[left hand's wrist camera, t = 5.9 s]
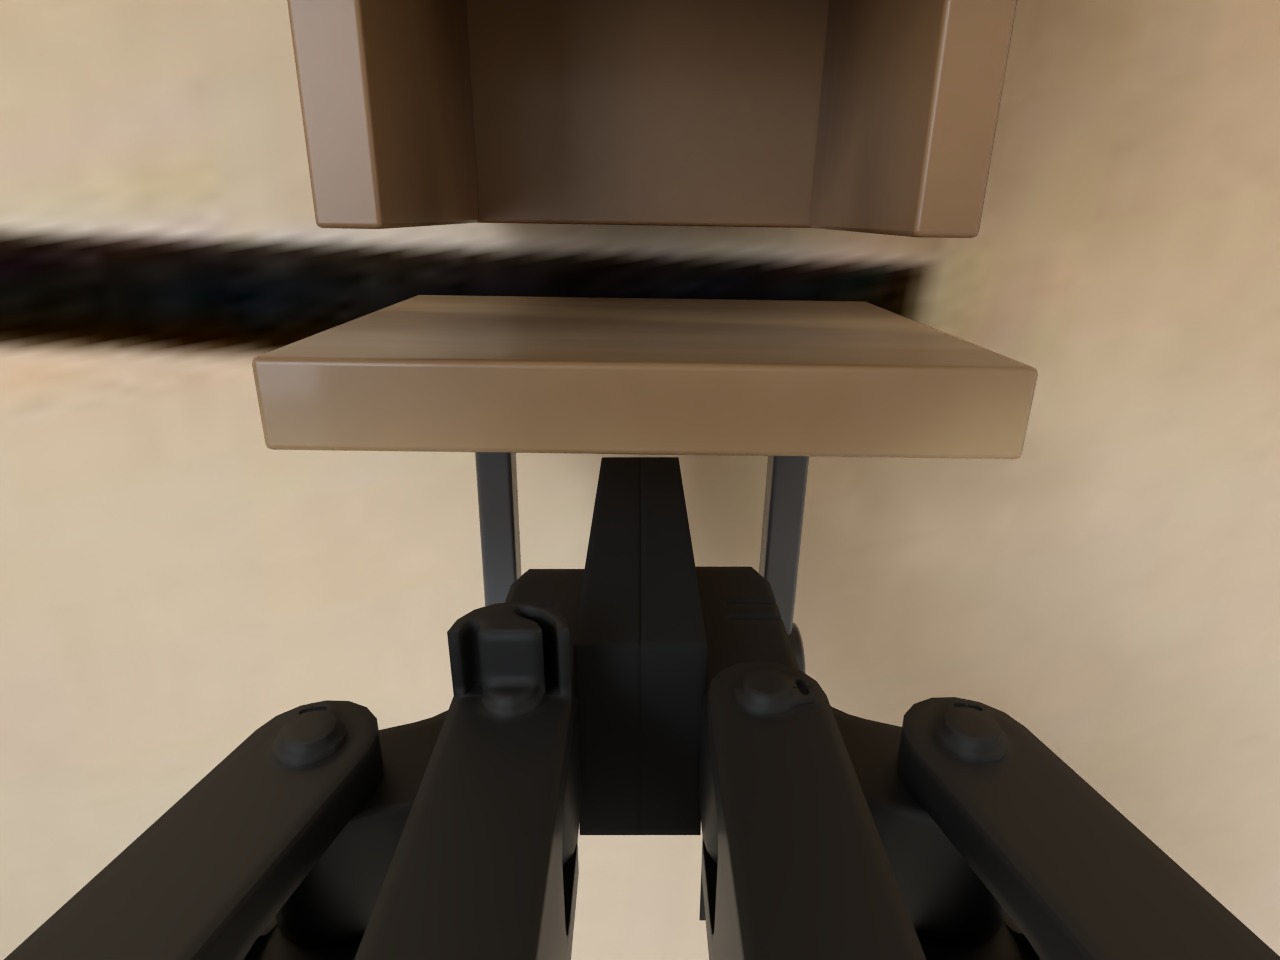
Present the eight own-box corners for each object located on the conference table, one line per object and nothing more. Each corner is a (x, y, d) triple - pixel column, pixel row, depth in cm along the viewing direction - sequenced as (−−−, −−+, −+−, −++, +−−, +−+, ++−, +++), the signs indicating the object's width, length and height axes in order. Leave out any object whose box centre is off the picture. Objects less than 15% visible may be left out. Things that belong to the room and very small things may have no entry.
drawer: (832, 599, 18) (948, 827, 11) (441, 595, 18) (326, 822, 11) (984, -679, 11) (1556, -2147, 4) (328, -697, 11) (-192, -2226, 4)
